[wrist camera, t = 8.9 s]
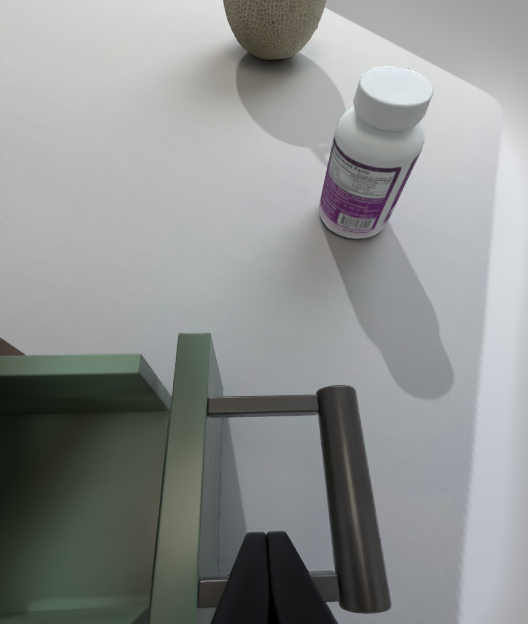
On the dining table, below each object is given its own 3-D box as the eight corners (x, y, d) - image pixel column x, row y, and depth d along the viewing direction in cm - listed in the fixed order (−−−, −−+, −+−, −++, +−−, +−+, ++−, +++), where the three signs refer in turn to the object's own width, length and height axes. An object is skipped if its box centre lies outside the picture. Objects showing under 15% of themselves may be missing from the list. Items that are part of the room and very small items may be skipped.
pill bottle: (350, 183, 29) (392, 49, 20) (399, 220, 27) (468, 89, 18) (303, 211, 27) (326, 76, 18) (352, 253, 25) (403, 124, 16)
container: (317, 385, 19) (349, 326, 13) (345, 636, 14) (422, 741, 8) (-14, 392, 18) (-150, 333, 12) (-115, 662, 13) (-446, 802, 7)
